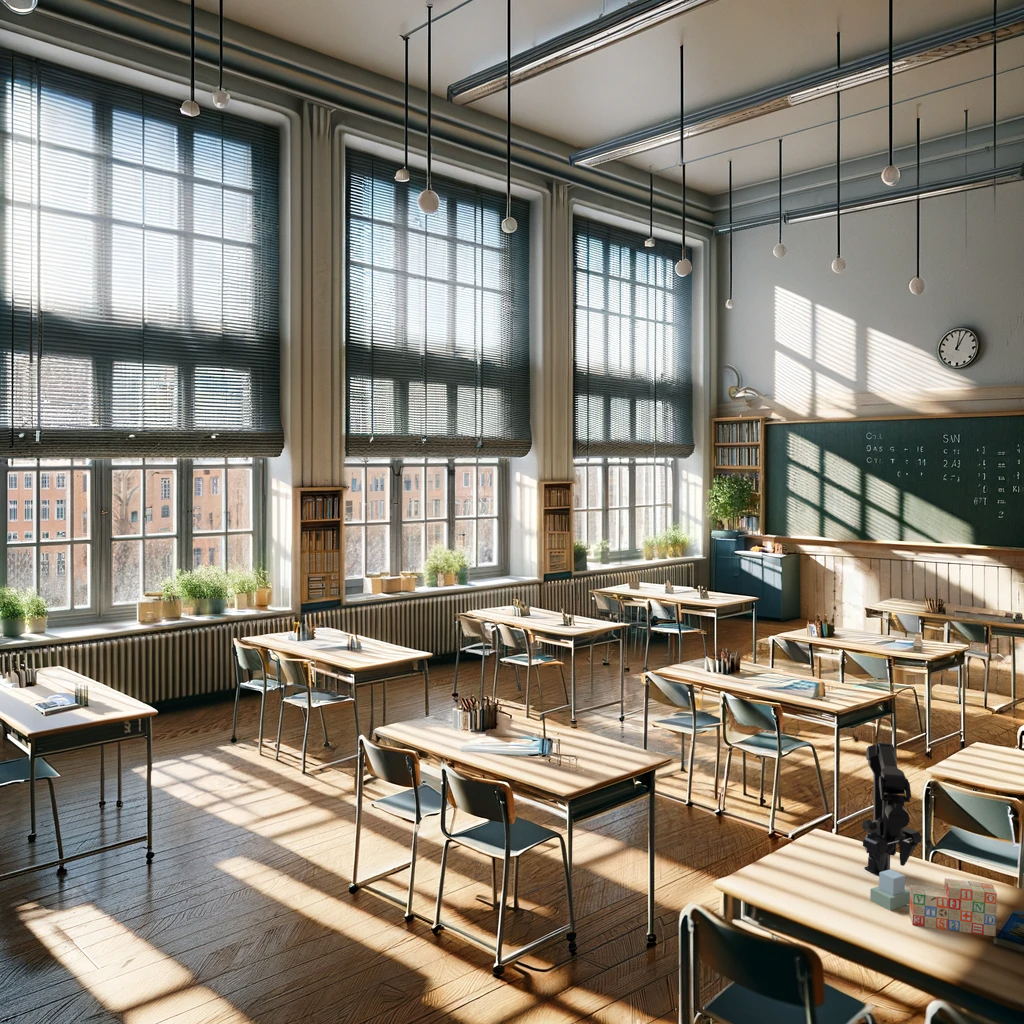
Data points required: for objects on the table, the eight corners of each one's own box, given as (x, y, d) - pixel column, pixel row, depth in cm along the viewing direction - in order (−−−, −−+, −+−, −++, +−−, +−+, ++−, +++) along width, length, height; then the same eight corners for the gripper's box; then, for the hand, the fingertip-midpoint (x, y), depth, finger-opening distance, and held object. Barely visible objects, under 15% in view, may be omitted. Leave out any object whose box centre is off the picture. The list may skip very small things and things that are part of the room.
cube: (890, 885, 278) (890, 869, 278) (904, 892, 273) (905, 875, 273) (878, 888, 275) (879, 872, 275) (893, 895, 271) (893, 878, 271)
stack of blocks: (912, 925, 261) (913, 882, 260) (909, 915, 267) (910, 873, 266) (996, 936, 255) (997, 892, 254) (991, 926, 261) (992, 883, 260)
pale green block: (891, 895, 280) (891, 882, 280) (910, 905, 274) (911, 891, 274) (870, 902, 276) (870, 888, 276) (889, 911, 270) (890, 898, 269)
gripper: (891, 802, 285) (890, 852, 286) (848, 812, 276) (847, 864, 277) (923, 814, 275) (921, 866, 276) (879, 824, 267) (878, 878, 267)
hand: (891, 868), depth 274 cm, fingers open, 9 cm apart
